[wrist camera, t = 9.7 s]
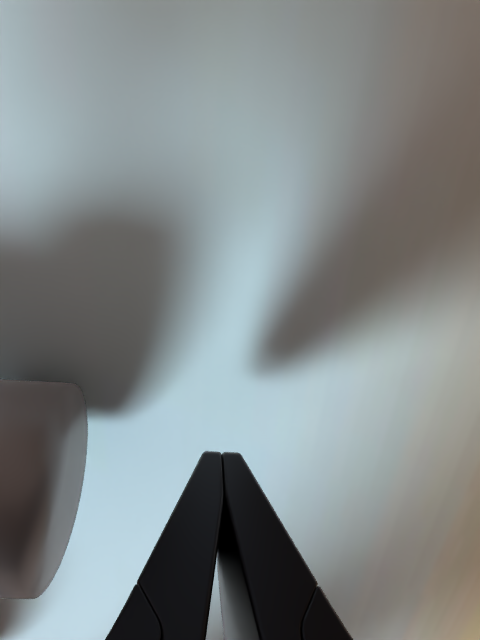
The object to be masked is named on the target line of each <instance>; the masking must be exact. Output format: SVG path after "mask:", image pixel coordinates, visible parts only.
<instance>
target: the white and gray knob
mask: <svg viewBox="0 0 480 640" xmlns="http://www.w3.org/2000/svg"><path fill="white" fill-rule="evenodd" d="M87 437H88V423H87V410H86V403H85V399H84V395H83V393H82V390H81V389H80V387H79V386H78V385H77V384H74V383H61V382H43V381H25V380H7V379H0V599H34V598H37V597H39V596H40V595H41V594H42V593H43V592H44V591H45V590H46V589H47V587H48V586H49V584H50V583H51V581H52V580H53V578H54V576H55V574H56V572H57V570H58V568H59V566H60V563H61V561H62V559H63V556H64V554H65V551H66V548H67V545H68V542H69V539H70V536H71V533H72V529H73V526H74V522H75V518H76V514H77V510H78V505H79V501H80V496H81V491H82V485H83V479H84V472H85V464H86V454H87Z"/></svg>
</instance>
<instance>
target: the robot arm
mask: <svg viewBox="0 0 480 640" xmlns="http://www.w3.org/2000/svg"><path fill="white" fill-rule="evenodd" d="M216 557H217V569H218V580H219V591H220V602H221V613H222V624H223V635H224V640H353V638H352V637H351V636H350V634H349V633H348V631H347V630H346V628H345V627H344V625H343V623H342V622H341V620H340V619H339V617H338V615H337V614H336V612H335V611H334V609H333V608H332V606H331V604H330V603H329V601H328V599H327V598H326V596H325V594H324V593H323V591H322V589H321V588H320V587H319V586H317V584H318V583H317V581H316V579H315V578H314V576H313V574H312V573H311V571H310V569H309V568H308V566H307V564H306V563H305V561H304V559H303V558H302V556H301V554H300V553H299V551H298V549H297V548H296V546H295V544H294V542H293V541H292V539H291V537H290V536H289V534H288V532H287V531H286V529H285V527H284V526H283V524H282V522H281V521H280V519H279V517H278V516H277V514H276V512H275V511H274V509H273V507H272V506H271V504H270V502H269V501H268V499H267V497H266V495H265V494H264V492H263V490H262V489H261V487H260V485H259V484H258V482H257V480H256V479H255V477H254V475H253V474H252V472H251V470H250V469H249V467H248V465H247V464H246V462H245V460H244V459H243V457H242V455H241V454H240V453H234V452H224V453H223V454H221V453H220V452H211V451H205V452H204V453H203V454H202V456H201V457H200V459H199V461H198V463H197V465H196V467H195V469H194V471H193V473H192V475H191V477H190V479H189V481H188V483H187V485H186V487H185V489H184V491H183V493H182V495H181V497H180V498H179V500H178V502H177V504H176V506H175V508H174V510H173V512H172V514H171V516H170V518H169V520H168V522H167V524H166V526H165V528H164V530H163V532H162V534H161V536H160V538H159V539H158V541H157V543H156V545H155V547H154V549H153V551H152V553H151V555H150V557H149V559H148V561H147V563H146V565H145V567H144V569H143V571H142V573H141V575H140V577H139V579H138V581H137V584H136V585H135V586H134V588H133V590H132V592H131V594H130V596H129V598H128V599H127V601H126V603H125V605H124V607H123V609H122V611H121V612H120V614H119V616H118V618H117V620H116V622H115V623H114V625H113V627H112V629H111V631H110V632H109V634H108V636H107V637H106V639H105V640H205V639H206V632H207V624H208V617H209V609H210V602H211V595H212V587H213V580H214V572H215V565H216Z"/></svg>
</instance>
